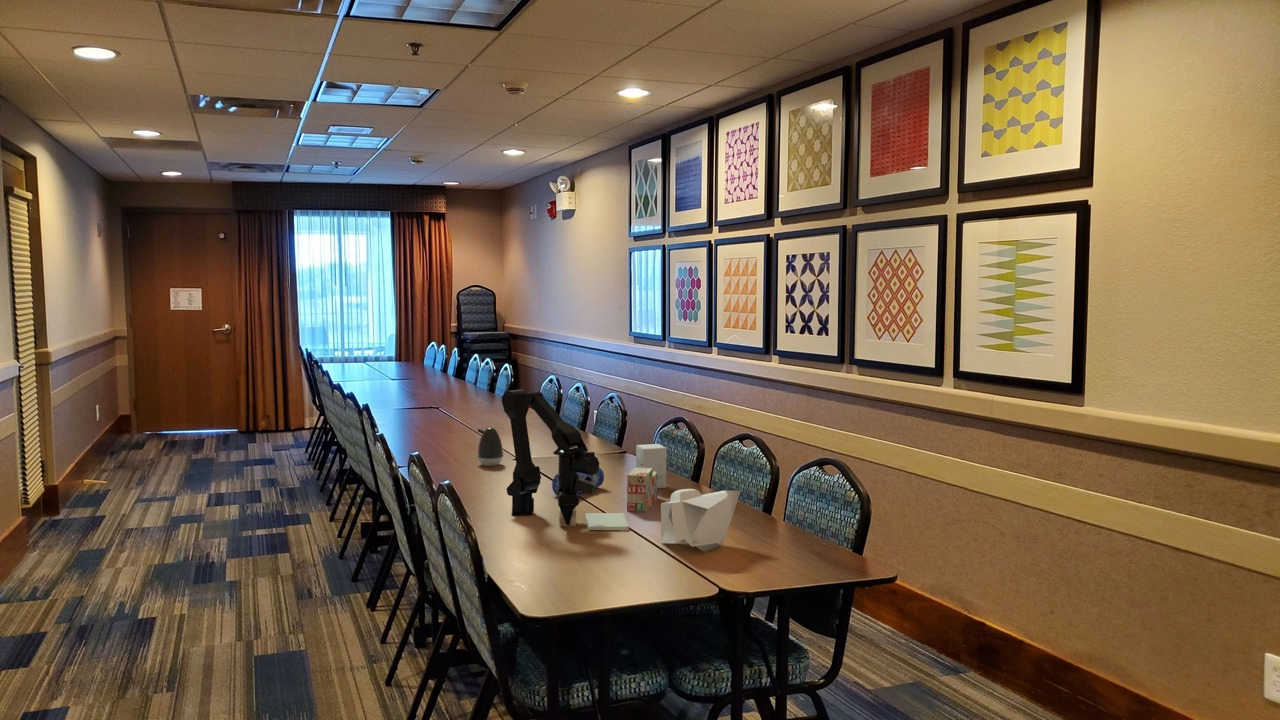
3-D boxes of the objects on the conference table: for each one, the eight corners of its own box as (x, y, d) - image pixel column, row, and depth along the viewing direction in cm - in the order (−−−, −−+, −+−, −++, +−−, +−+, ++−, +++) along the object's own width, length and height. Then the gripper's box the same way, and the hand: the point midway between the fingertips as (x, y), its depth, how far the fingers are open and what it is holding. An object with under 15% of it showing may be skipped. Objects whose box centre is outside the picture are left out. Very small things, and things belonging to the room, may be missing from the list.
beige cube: (559, 526, 279) (559, 510, 278) (559, 522, 284) (559, 506, 283) (575, 526, 279) (576, 510, 279) (575, 522, 284) (575, 506, 284)
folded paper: (655, 485, 260) (687, 503, 245) (725, 478, 272) (759, 494, 257) (651, 542, 263) (682, 564, 248) (721, 533, 274) (755, 553, 260)
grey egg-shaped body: (481, 462, 375) (481, 425, 374) (506, 463, 374) (506, 426, 373) (473, 466, 365) (473, 429, 364) (498, 468, 364) (499, 430, 363)
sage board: (588, 530, 274) (588, 526, 274) (585, 517, 290) (585, 513, 290) (628, 530, 276) (628, 526, 276) (623, 516, 292) (623, 513, 291)
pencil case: (568, 500, 313) (569, 472, 312) (548, 496, 318) (549, 469, 317) (605, 488, 332) (606, 462, 331) (586, 485, 336) (586, 459, 336)
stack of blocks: (639, 496, 320) (640, 461, 319) (657, 498, 319) (658, 462, 318) (626, 511, 299) (627, 474, 298) (645, 512, 298) (646, 475, 297)
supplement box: (658, 483, 341) (659, 443, 340) (666, 488, 333) (667, 447, 332) (635, 484, 339) (635, 444, 337) (642, 489, 330) (643, 448, 329)
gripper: (596, 476, 272) (595, 528, 273) (592, 464, 290) (591, 512, 292) (558, 476, 271) (558, 528, 272) (557, 464, 289) (556, 513, 290)
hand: (567, 520), depth 282 cm, fingers open, 9 cm apart
